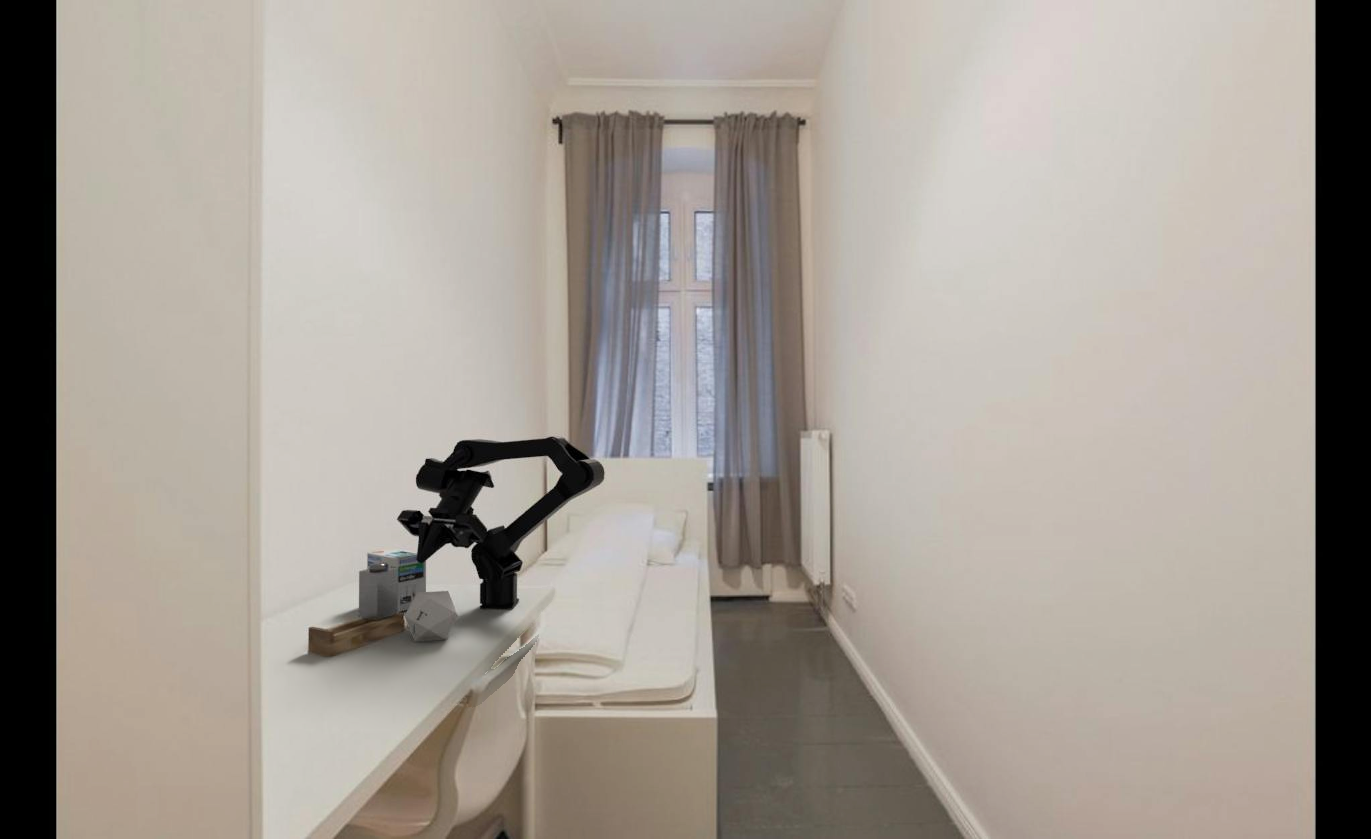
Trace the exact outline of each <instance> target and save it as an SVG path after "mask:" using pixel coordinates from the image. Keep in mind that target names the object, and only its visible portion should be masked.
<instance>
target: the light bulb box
mask: <svg viewBox="0 0 1371 839" xmlns="http://www.w3.org/2000/svg"><path fill="white" fill-rule="evenodd" d="M366 554H367V556H366V565H367V566H366V567H367V569H369V565H370V564H372V563H380V562H384V563H388V567H389V568H397V569H398V613H402V612H405V611H408V609H409V607H410V605H411V603H412V602H413V600H414V598H415V596H416V594H417V593H419V592H427V560H426V561H425V562H424V563H419V562H418V561H417V551H411V550H405V549H401V548H400V549H398V548H395V547H394V548H388V549H382V550H376V551H369V552H366Z"/></svg>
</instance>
